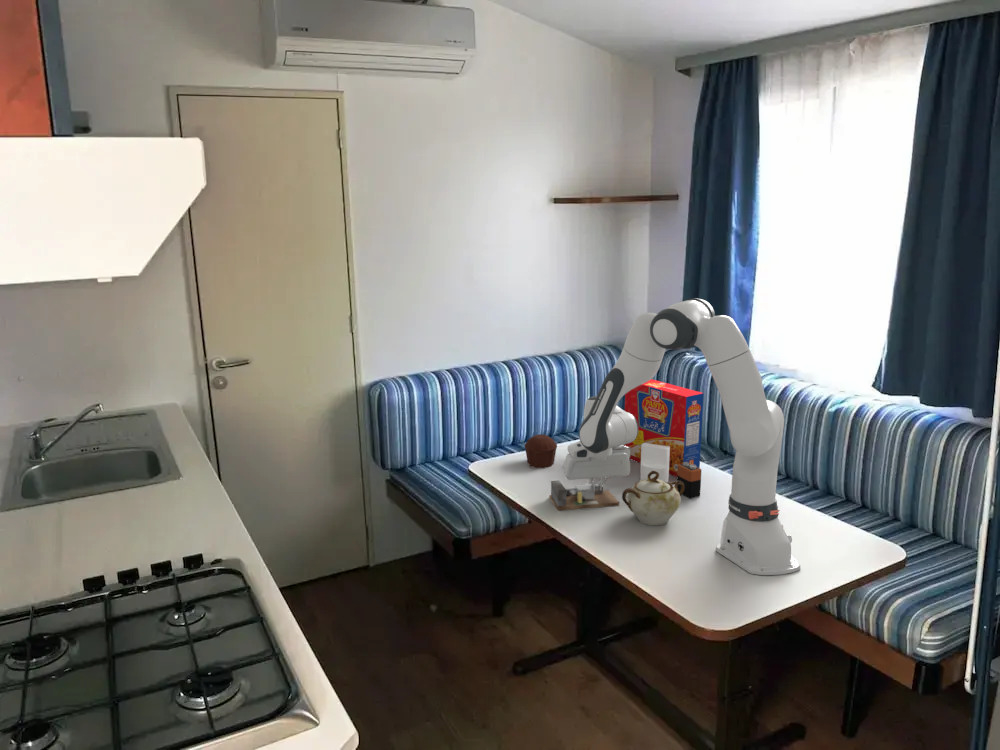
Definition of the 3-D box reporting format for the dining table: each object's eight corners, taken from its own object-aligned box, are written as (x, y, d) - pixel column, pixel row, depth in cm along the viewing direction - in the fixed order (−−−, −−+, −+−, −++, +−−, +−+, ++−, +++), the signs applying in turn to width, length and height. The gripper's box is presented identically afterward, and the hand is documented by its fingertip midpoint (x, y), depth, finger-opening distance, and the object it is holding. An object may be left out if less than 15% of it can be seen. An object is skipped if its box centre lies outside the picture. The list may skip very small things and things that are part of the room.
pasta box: (623, 456, 287) (625, 380, 280) (639, 452, 291) (642, 376, 285) (682, 479, 264) (686, 396, 258) (699, 474, 269) (703, 393, 262)
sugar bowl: (633, 534, 223) (635, 483, 220) (610, 514, 237) (611, 465, 233) (696, 525, 229) (699, 475, 225) (670, 505, 243) (672, 458, 239)
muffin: (557, 469, 274) (557, 441, 271) (524, 469, 274) (524, 441, 272) (556, 458, 285) (556, 431, 283) (524, 458, 286) (524, 430, 283)
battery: (689, 499, 248) (690, 468, 245) (675, 491, 254) (677, 461, 251) (700, 496, 249) (702, 466, 247) (686, 489, 255) (688, 459, 253)
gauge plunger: (590, 494, 249) (590, 483, 248) (597, 503, 242) (597, 492, 241) (568, 496, 247) (568, 485, 246) (574, 505, 240) (574, 493, 240)
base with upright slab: (671, 479, 265) (673, 444, 262) (663, 488, 257) (665, 452, 254) (645, 474, 269) (646, 440, 266) (636, 483, 261) (637, 448, 258)
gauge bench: (608, 493, 253) (608, 475, 251) (618, 505, 243) (619, 486, 242) (549, 498, 249) (549, 479, 248) (557, 510, 240) (558, 491, 238)
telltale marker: (580, 500, 242) (580, 491, 242) (581, 502, 241) (582, 493, 240) (577, 501, 242) (577, 491, 242) (578, 503, 241) (578, 493, 240)
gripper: (627, 442, 248) (625, 484, 251) (562, 446, 244) (561, 489, 248) (634, 448, 242) (632, 491, 245) (568, 453, 238) (567, 497, 242)
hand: (596, 490), depth 246 cm, fingers closed
